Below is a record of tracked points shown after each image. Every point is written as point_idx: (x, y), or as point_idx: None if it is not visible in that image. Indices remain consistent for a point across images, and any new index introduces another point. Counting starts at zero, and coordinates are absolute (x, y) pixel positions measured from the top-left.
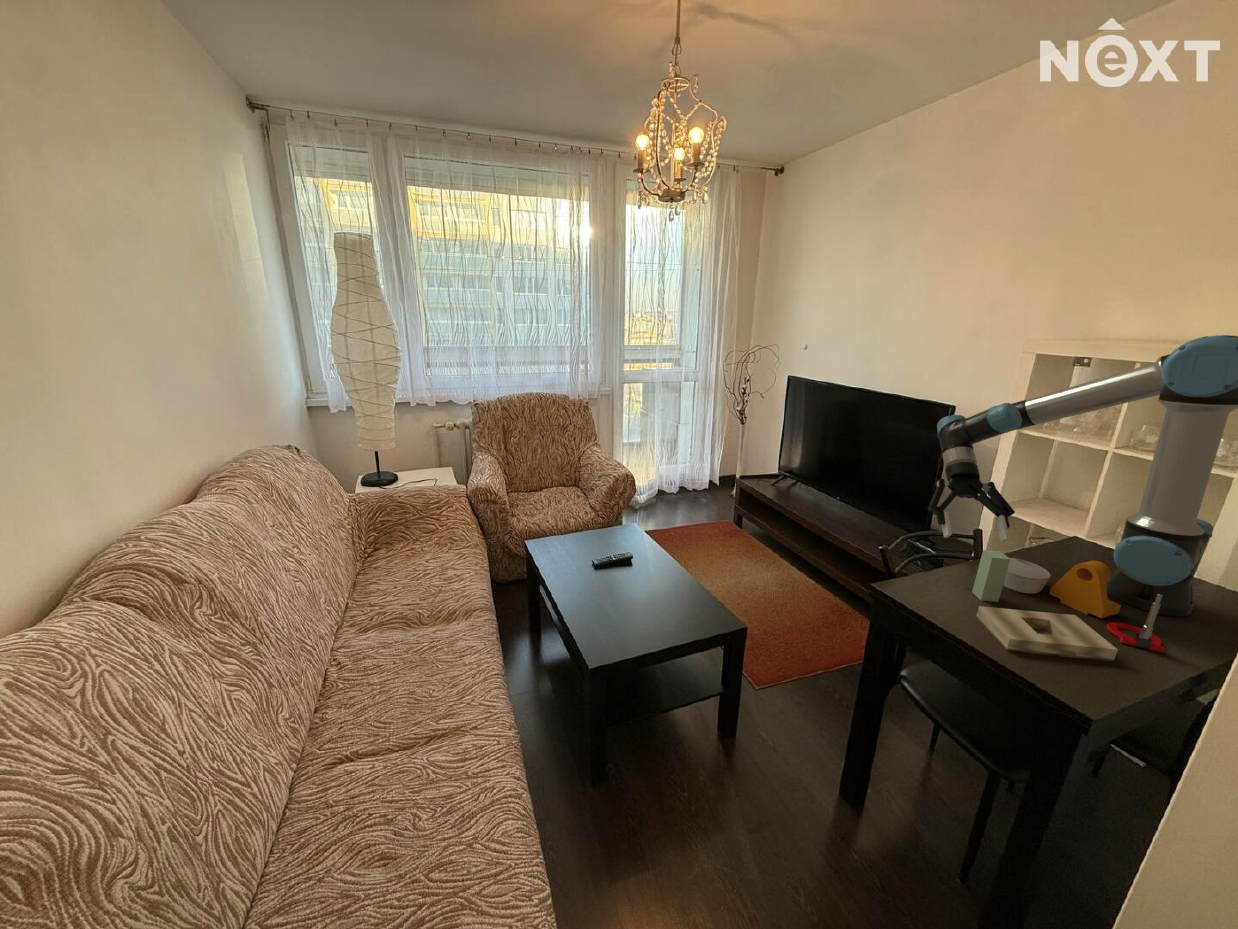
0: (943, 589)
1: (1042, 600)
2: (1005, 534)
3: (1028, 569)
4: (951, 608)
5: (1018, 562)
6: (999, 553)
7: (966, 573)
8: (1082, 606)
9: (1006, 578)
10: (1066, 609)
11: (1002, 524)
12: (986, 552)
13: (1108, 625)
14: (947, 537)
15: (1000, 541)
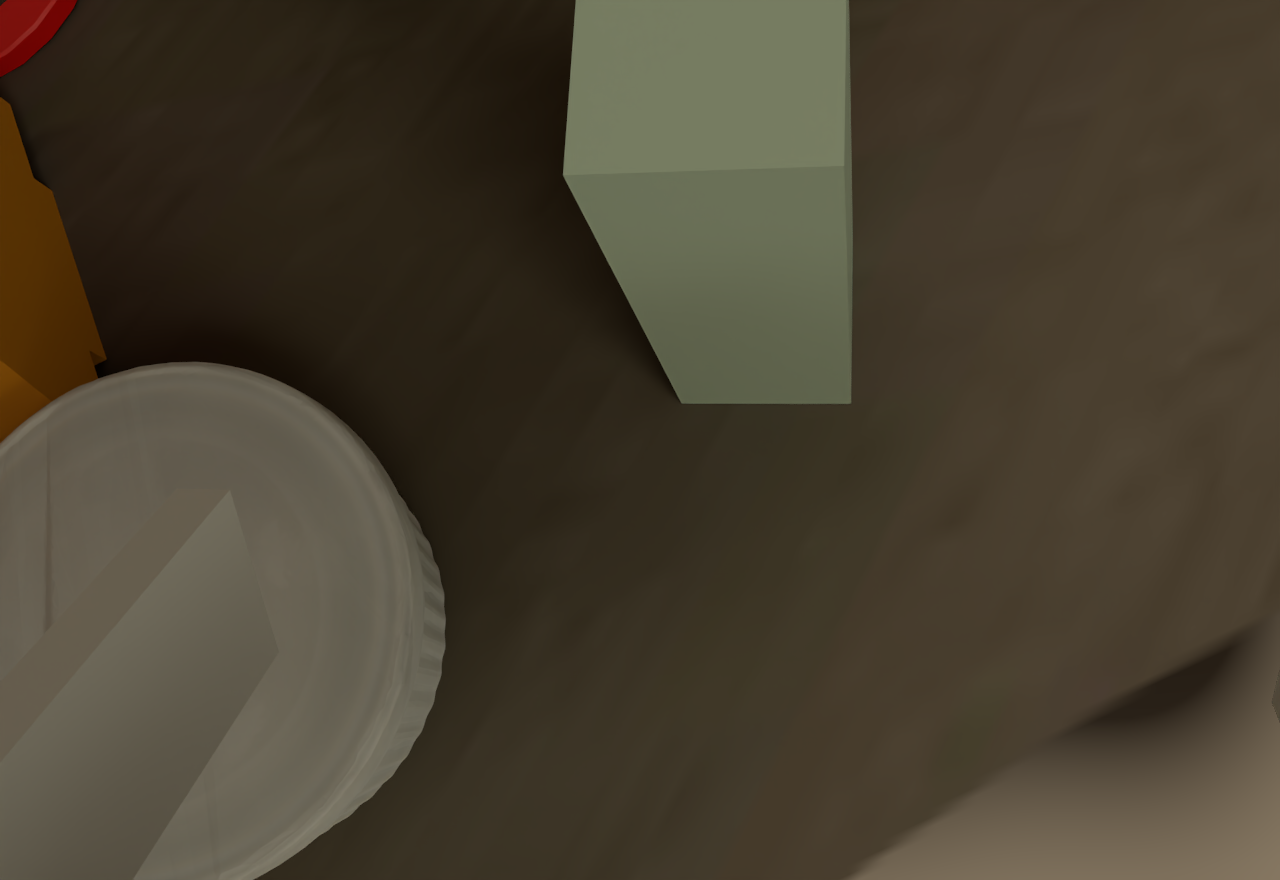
0: (1162, 401)
1: (243, 358)
2: (186, 548)
3: None
4: (1237, 39)
5: None
6: (634, 88)
7: (688, 841)
8: (26, 205)
9: (413, 528)
10: (149, 241)
11: (58, 722)
12: (836, 83)
13: (43, 9)
14: (1277, 687)
15: (274, 655)
